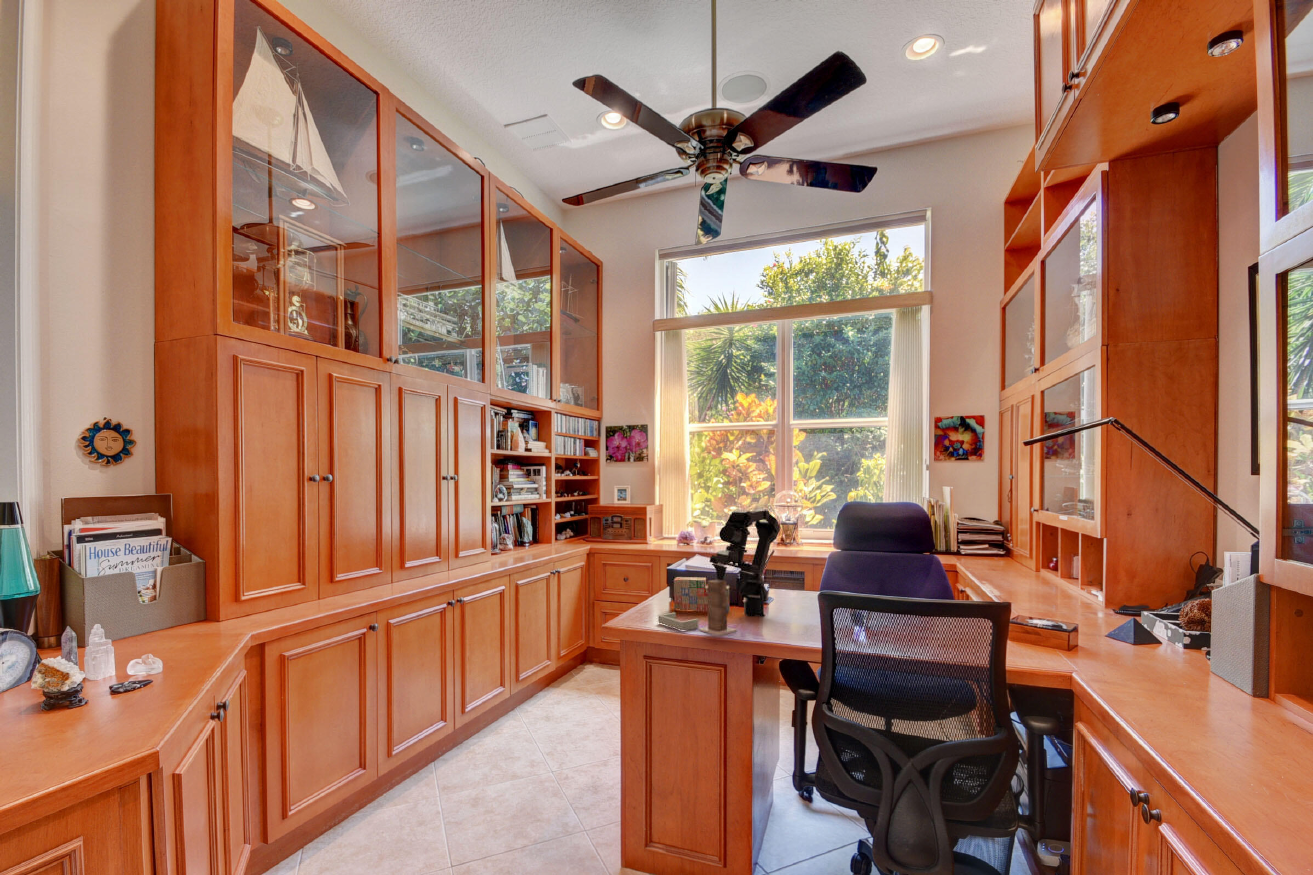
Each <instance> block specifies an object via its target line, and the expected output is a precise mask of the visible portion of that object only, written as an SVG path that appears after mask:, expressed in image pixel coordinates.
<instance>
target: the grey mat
mask: <svg viewBox="0 0 1313 875" xmlns="http://www.w3.org/2000/svg"><path fill="white" fill-rule="evenodd" d="M699 630H700V631H699ZM698 631H699V632H702V631H704V632H703V633H705V632H707V633H706V634H709V633H710V634H709V635H713V636H715V637H719V636H724V635H727V634H732V633H735V632H737V629H736V628H731V627H729V626H727V630H722V631H718V632H717V631H714V630H710V629H708V626H704V627H700V628H698Z"/></svg>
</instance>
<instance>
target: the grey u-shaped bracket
mask: <svg viewBox="0 0 1313 875" xmlns="http://www.w3.org/2000/svg"><path fill="white" fill-rule="evenodd" d="M676 616H677V614H676V611H674V612H669V613H665V614H659V615H658V618H657V619H658V621H657V623H658V622H659V623H662V624H665V625H668V626H671V627H675V628H677V629H680V630H687V631H690V630H689V629H691V630H694V628H696V629H698V628H699V618H694V619H690V620H689V619H688V620H684V621H682V620H679V619H676V618H677V617H676ZM697 627H698V628H697Z"/></svg>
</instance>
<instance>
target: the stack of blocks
mask: <svg viewBox="0 0 1313 875" xmlns="http://www.w3.org/2000/svg"><path fill="white" fill-rule="evenodd" d="M673 604H674V605H673V608H674V609H680V610H693V611H702V612H701V613H708V584H707V577H697V576H695V577H693V576H692V577H691V576H690V577H687V576H685V577H684V576H677V577H675V578H674V579H673ZM730 610H731V609H730V585H727V614H729V613H730Z"/></svg>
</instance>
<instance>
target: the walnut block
mask: <svg viewBox="0 0 1313 875" xmlns="http://www.w3.org/2000/svg"><path fill="white" fill-rule="evenodd" d="M707 585H708V612H707V627H708V629H710V630H714V631H717V632H718V631H722V630H727V627H728V613H727V586H728V585H727V581H726V580H723V581H722V580H717V579H713V580H712V579H711V580H707Z"/></svg>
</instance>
